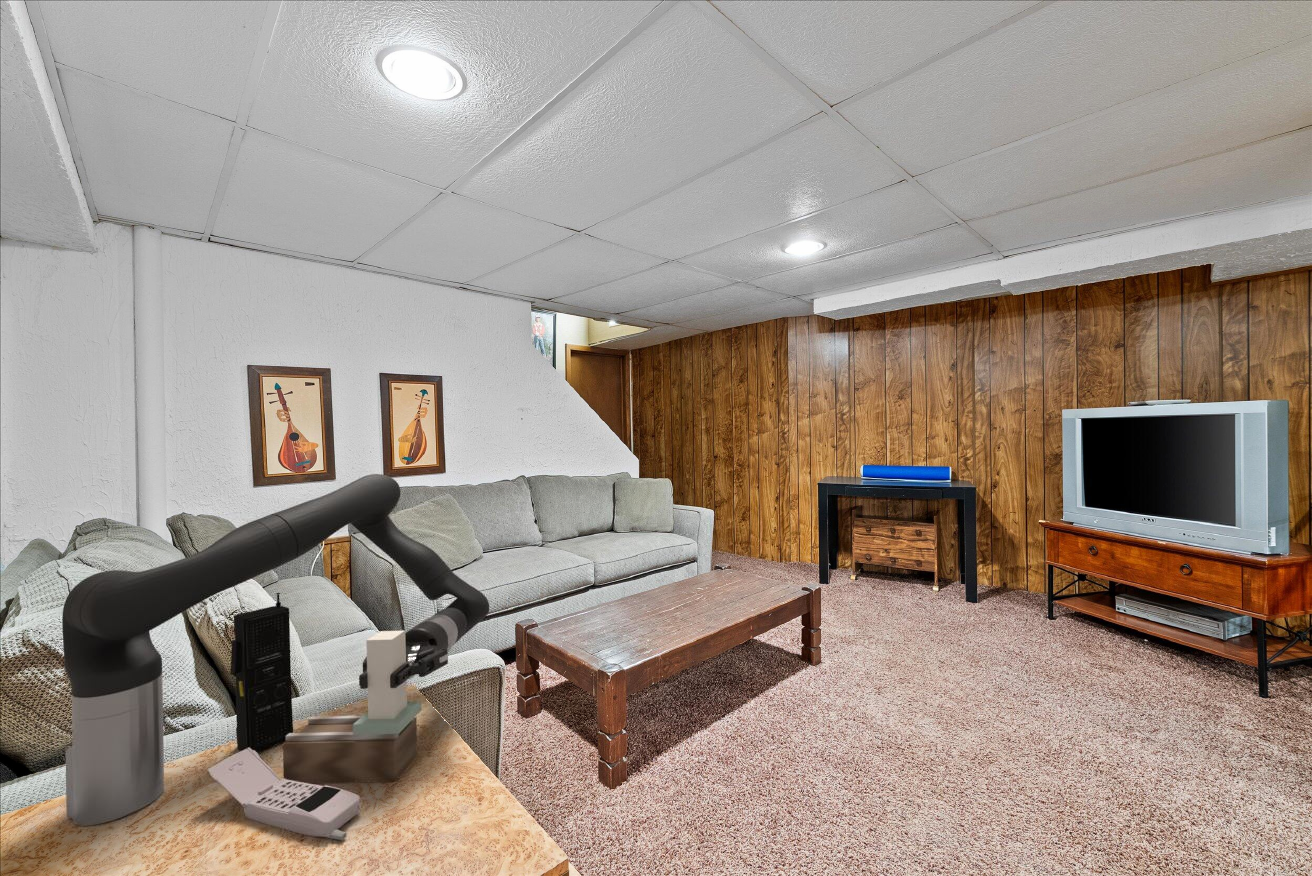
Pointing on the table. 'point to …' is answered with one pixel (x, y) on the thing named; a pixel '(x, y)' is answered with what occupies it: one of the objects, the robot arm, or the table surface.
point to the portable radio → (262, 677)
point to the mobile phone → (285, 797)
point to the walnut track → (346, 752)
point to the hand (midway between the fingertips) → (377, 681)
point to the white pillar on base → (386, 687)
